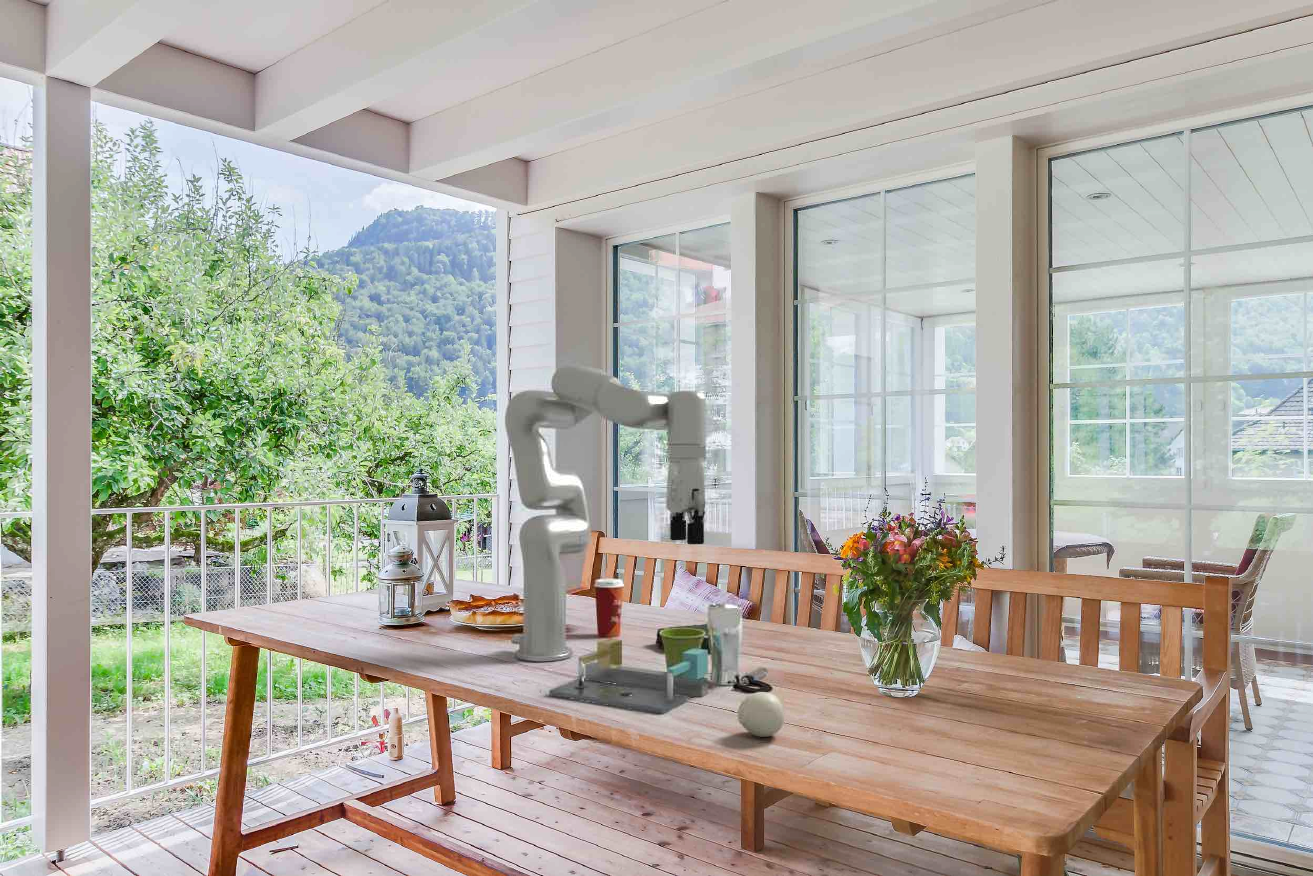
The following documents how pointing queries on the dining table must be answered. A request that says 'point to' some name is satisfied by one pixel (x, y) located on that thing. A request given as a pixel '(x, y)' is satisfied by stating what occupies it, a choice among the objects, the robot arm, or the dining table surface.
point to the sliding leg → (688, 668)
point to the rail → (646, 679)
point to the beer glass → (724, 642)
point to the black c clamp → (753, 682)
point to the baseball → (761, 714)
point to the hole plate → (619, 696)
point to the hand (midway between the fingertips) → (686, 542)
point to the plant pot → (680, 643)
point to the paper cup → (608, 606)
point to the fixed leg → (602, 657)
